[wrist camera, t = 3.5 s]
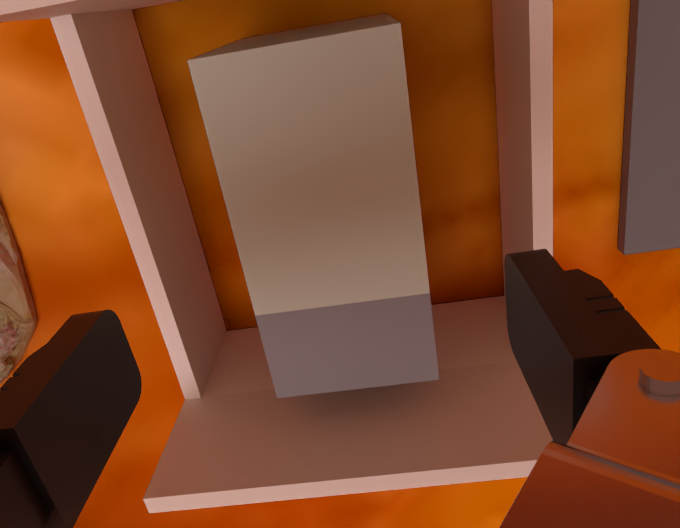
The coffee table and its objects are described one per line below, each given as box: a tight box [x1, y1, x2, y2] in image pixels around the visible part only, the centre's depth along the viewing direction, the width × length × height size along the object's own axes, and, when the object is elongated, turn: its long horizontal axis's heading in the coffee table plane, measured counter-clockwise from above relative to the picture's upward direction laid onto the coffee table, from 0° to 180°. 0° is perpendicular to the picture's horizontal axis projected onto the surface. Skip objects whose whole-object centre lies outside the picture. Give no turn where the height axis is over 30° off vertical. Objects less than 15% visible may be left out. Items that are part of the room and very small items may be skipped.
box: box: [187, 13, 439, 398], centre depth 18 cm, size 5×10×7 cm, turn 9°
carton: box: [0, 0, 553, 513], centre depth 17 cm, size 13×14×9 cm
